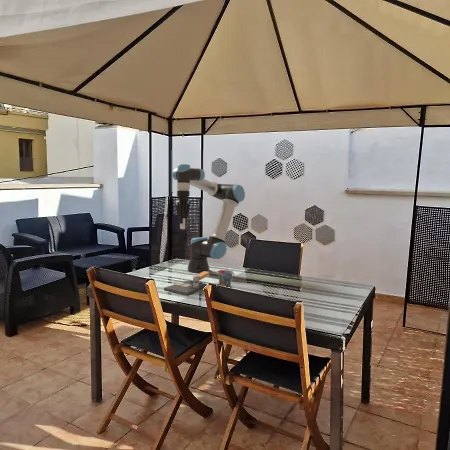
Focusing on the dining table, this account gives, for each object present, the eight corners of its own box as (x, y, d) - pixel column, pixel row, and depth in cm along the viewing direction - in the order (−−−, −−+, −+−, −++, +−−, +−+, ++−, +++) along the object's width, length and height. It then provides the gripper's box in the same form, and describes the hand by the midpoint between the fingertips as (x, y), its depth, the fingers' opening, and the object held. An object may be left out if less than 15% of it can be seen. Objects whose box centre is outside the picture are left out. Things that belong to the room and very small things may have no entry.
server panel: (189, 282, 235) (189, 274, 234) (210, 287, 226) (210, 278, 225) (164, 290, 217) (164, 281, 216) (186, 295, 208) (186, 286, 207)
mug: (224, 293, 215) (224, 274, 213) (213, 289, 221) (213, 271, 220) (239, 289, 223) (239, 271, 222) (228, 286, 230) (228, 268, 228)
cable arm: (209, 275, 231) (209, 270, 231) (197, 282, 215) (197, 277, 215) (203, 275, 232) (203, 270, 232) (191, 281, 216) (192, 276, 216)
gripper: (185, 189, 240) (184, 227, 242) (171, 189, 229) (170, 229, 231) (194, 190, 235) (194, 228, 238) (181, 190, 225) (180, 230, 227)
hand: (182, 228), depth 235 cm, fingers closed
